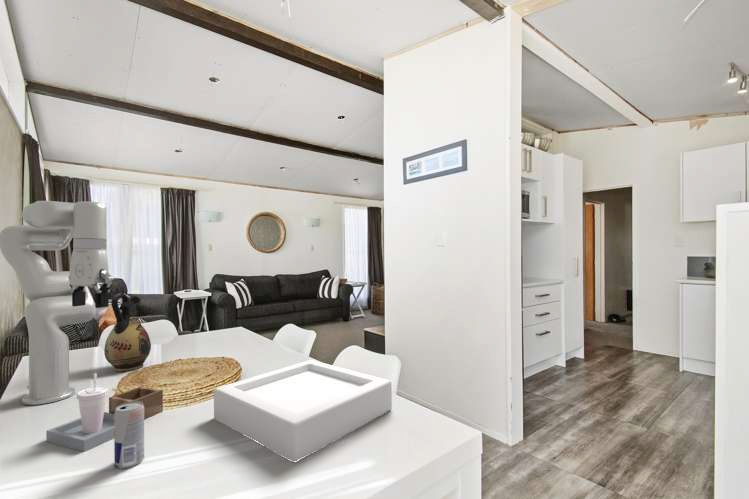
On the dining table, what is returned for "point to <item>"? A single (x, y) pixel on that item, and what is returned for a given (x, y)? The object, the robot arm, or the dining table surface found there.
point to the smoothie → (92, 407)
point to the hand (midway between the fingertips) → (90, 306)
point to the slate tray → (81, 434)
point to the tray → (302, 406)
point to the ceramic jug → (126, 337)
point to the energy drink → (128, 435)
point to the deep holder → (140, 400)
